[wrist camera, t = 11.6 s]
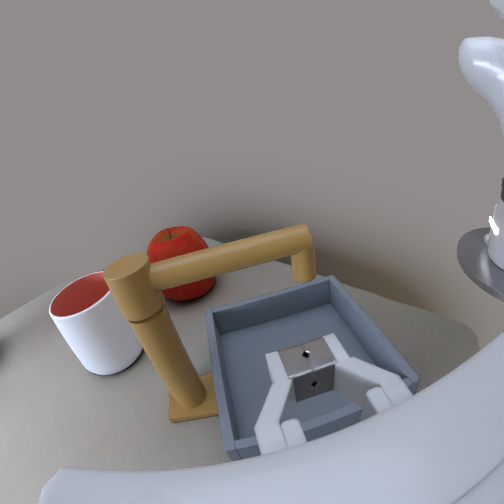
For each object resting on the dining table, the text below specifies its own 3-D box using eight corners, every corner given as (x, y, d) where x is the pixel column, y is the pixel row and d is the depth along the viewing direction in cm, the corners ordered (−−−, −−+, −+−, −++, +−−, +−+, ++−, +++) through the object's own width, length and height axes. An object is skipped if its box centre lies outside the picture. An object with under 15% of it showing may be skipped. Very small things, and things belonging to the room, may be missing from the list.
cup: (94, 334, 37) (64, 280, 33) (150, 323, 38) (124, 263, 34) (79, 382, 28) (37, 324, 24) (144, 374, 29) (105, 309, 25)
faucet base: (214, 377, 28) (176, 285, 22) (220, 414, 23) (174, 324, 18) (171, 385, 27) (122, 299, 22) (171, 422, 23) (111, 337, 17)
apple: (148, 292, 46) (126, 236, 41) (199, 264, 52) (183, 211, 47) (176, 319, 38) (149, 252, 33) (234, 283, 44) (218, 219, 39)
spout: (306, 262, 23) (300, 209, 21) (325, 284, 20) (320, 224, 18) (131, 309, 22) (109, 260, 20) (125, 337, 18) (97, 283, 16)
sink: (333, 303, 35) (332, 274, 33) (408, 406, 19) (420, 378, 17) (215, 337, 33) (204, 310, 31) (239, 469, 18) (225, 451, 16)
